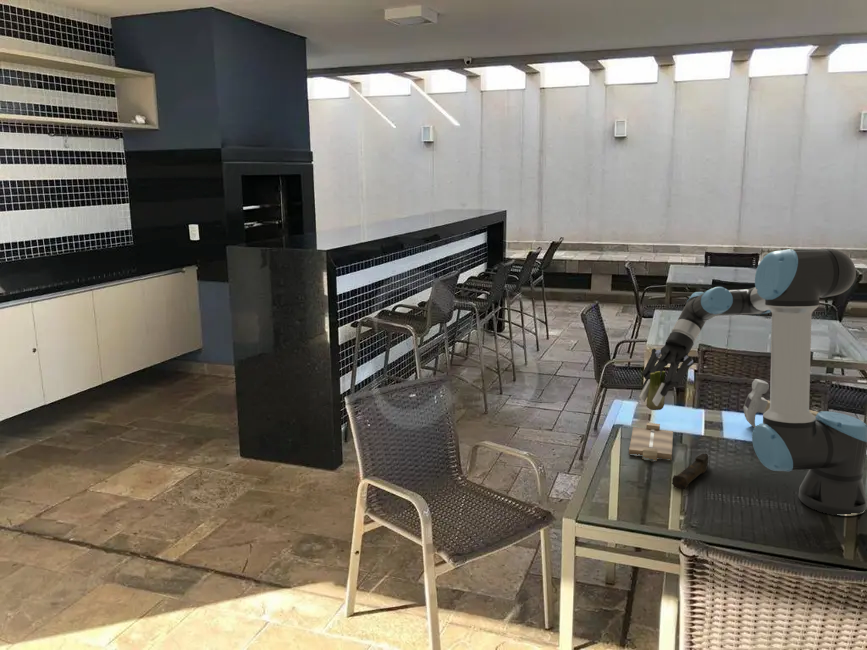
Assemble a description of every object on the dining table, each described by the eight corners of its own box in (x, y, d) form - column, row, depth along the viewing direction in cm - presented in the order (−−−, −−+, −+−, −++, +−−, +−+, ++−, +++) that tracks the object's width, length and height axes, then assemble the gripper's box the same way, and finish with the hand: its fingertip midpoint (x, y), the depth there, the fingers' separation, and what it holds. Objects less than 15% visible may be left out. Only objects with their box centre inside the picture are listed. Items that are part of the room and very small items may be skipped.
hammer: (844, 398, 224) (752, 377, 225) (851, 403, 220) (757, 382, 220) (827, 443, 228) (736, 421, 229) (833, 448, 224) (741, 427, 224)
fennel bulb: (662, 406, 213) (665, 368, 210) (667, 412, 209) (670, 373, 206) (643, 406, 213) (645, 368, 210) (647, 412, 209) (650, 374, 206)
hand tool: (685, 492, 186) (686, 476, 184) (671, 487, 188) (672, 471, 187) (716, 469, 198) (717, 454, 197) (702, 465, 201) (704, 450, 200)
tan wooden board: (671, 463, 202) (672, 453, 201) (628, 458, 206) (628, 448, 205) (672, 434, 222) (673, 425, 221) (633, 430, 226) (633, 421, 225)
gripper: (712, 350, 210) (678, 415, 204) (662, 339, 223) (628, 400, 216) (704, 336, 205) (669, 402, 199) (653, 325, 218) (619, 388, 212)
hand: (648, 401), depth 208 cm, fingers closed on fennel bulb, 4 cm apart
